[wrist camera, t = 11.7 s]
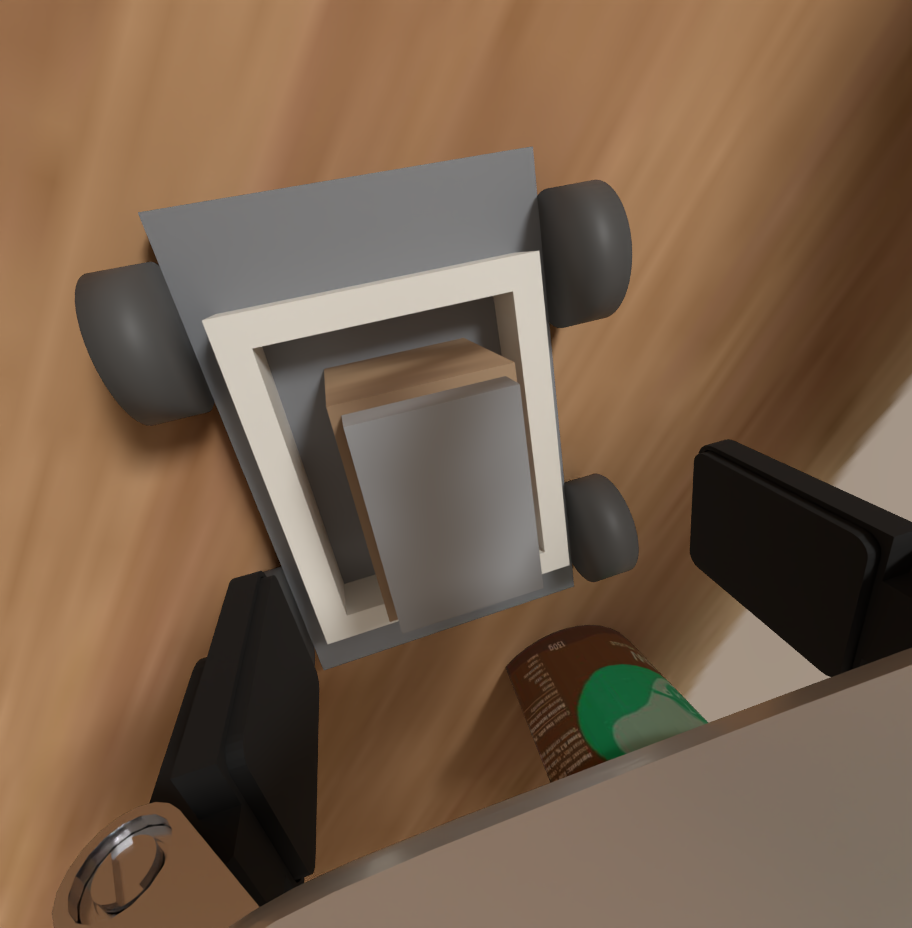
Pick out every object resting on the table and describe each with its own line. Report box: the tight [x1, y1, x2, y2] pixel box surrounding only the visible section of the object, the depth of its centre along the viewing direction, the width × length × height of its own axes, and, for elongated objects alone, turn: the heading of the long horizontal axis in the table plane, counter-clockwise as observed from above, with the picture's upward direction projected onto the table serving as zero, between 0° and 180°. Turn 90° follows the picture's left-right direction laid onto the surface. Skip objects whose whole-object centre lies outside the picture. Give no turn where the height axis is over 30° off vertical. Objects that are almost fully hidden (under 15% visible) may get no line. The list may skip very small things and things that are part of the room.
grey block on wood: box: [324, 338, 543, 634], centre depth 16 cm, size 5×7×6 cm
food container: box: [506, 625, 708, 783], centre depth 23 cm, size 12×6×10 cm, turn 49°
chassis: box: [75, 147, 639, 670], centre depth 18 cm, size 15×18×4 cm
